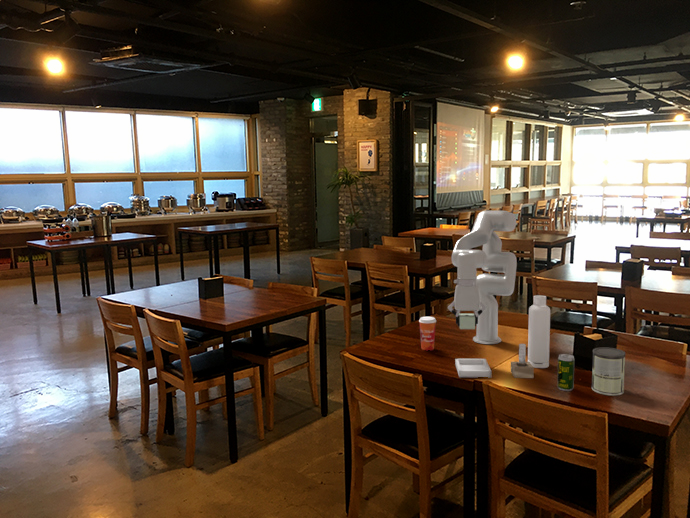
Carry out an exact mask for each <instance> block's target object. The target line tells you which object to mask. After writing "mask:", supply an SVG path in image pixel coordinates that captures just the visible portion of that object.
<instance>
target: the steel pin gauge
mask: <svg viewBox="0 0 690 518" xmlns="http://www.w3.org/2000/svg"><path fill="white" fill-rule="evenodd" d="M526 347H527V345H526V343H519V344H518V362H519V366H525V362H526V355H527V353H526V351H527V350H526V349H527V348H526Z"/></svg>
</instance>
